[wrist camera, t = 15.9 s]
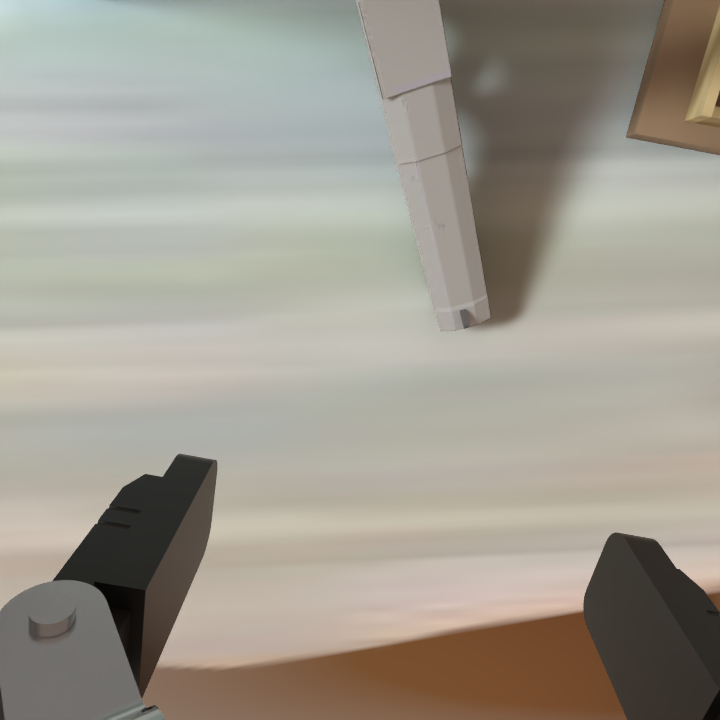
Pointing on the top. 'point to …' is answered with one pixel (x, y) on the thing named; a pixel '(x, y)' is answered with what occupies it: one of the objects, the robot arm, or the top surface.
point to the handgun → (428, 151)
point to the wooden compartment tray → (682, 79)
